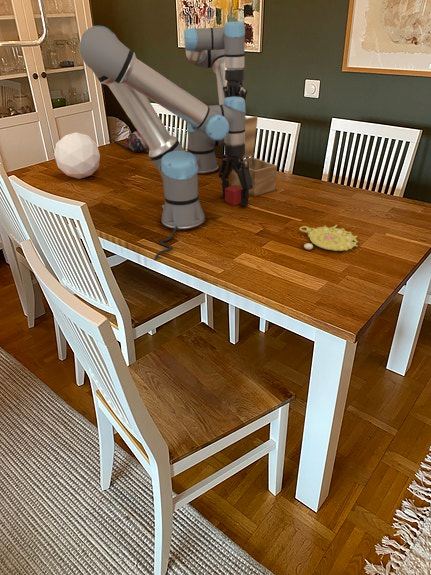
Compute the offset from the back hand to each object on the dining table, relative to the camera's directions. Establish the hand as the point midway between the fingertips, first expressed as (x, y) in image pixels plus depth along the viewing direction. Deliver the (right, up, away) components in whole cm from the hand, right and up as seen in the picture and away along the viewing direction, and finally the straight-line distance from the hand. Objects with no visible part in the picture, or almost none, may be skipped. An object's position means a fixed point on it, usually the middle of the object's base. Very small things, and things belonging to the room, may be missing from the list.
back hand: (234, 132), depth 181 cm
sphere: (-69, -13, +20) cm, 73 cm away
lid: (+4, -4, -4) cm, 7 cm away
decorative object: (+28, -48, -40) cm, 69 cm away
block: (0, -30, -10) cm, 32 cm away
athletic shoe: (-50, +9, +55) cm, 75 cm away
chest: (+8, -22, +2) cm, 24 cm away
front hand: (0, -30, -10) cm, 32 cm away
